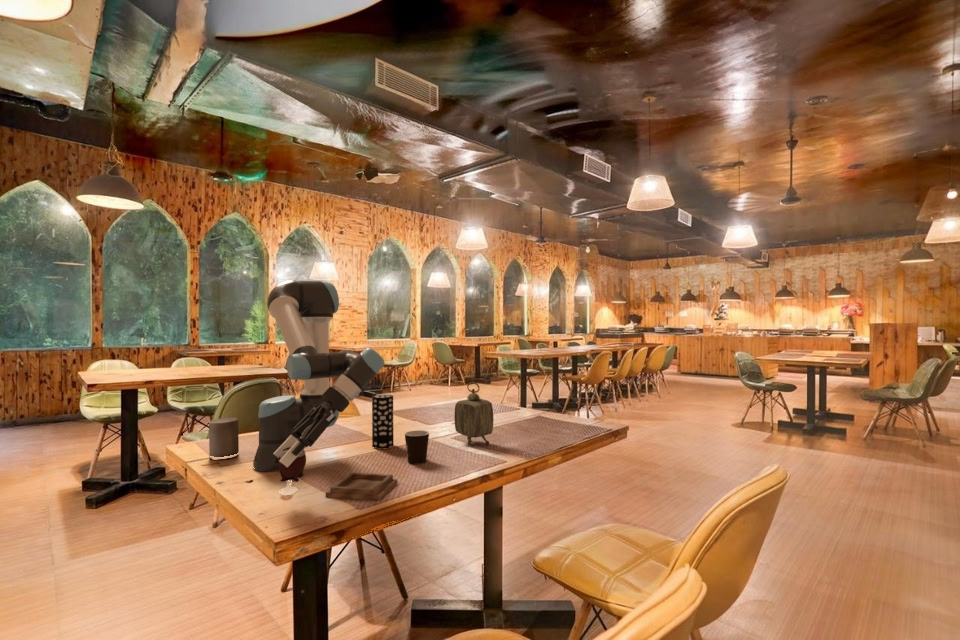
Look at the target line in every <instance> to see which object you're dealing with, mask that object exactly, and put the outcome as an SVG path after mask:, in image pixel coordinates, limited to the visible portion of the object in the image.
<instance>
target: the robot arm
mask: <svg viewBox="0 0 960 640" xmlns="http://www.w3.org/2000/svg"><path fill="white" fill-rule="evenodd" d="M266 305H267V309H268V312H269V315H270V316H271V317H272V318H273V319H275V320H276V323H277V326H278V328H279V330H280V334H281V336H282V337H283V341H284V343H285V345H286V349H287V350H288V353H289V355H288V357H287V359H286V360H287V361H286V370H287V376H288V377H289V379H291V380H294V381H296V380H297V381H298V380H300V381H301V380H302V381H303V383H304V384H303V387H304V388H303V389H302V390H301V391H300V393H299V398H296V396H295V395H292V394H289V395H288V394H287V395H280V396H275V397H274V396H273V397H270V398H267V399H265V400H263V401H262V402H260V404H259V406H258V414H257V417H258V446H257V449H256V451H255V455H254V459H253V463H252V466H253V467H254V468H255V469H257V470H256V471H258V470H262V471H261V472H277V471H276V470H278V471H280V470H279V465H278V458H279V454H280V452H281V451H282V450H283V449H285V448H288V447H291V448H290V449H289V451H288V452H287V453H286V454H285V455H284V456H283V457H282V458H281V459H280V460H279V461H280V462H281V463H282V464H284V465H285V466H286V467H287V468H288V466H289V465H290V464H291V463H292V462H293V461H294V460H295V459H296V458H297V456H298V455H299V454H300V453H301V452H302V451H303V450H304V451H305V449H306V448H308V447H310V448H311V447H312V446H313V445H314V443H316V441H317V440H318V439H319V438H320V437H321V436H322V434H323V433H324V432H325V430H326V429H327V428H330V427H333V426H334V425H335V424H336V423H337V420H338V418H339V414H340V413H343V412H344V411H345V410H346V409H347V408H348V407H349V405H350V402H352V401H353V402H354V399H355V398H358V397H359V396H360V392H362V390H364V389H365V387H366V386H367V385H368V384H369V383H370V382H371V381H372V379H373V378H375V376H377V374H379V372H380V371H381V369H382V368H383V367H384V366H385V360H384V358H383V357H382V355H380V354H379V352H377V351H375V350H374V349H372V348H371V347H366V348H365V349H364V350H362V351H361V352H360V353H358V352H355V351H353V350H350V349H349V350H346V349H345V350H340V351H339V352H337V351H336V352H330V322H331V321H332V320H333V319H334V314H337V312H338V311H339V307H340V299H339V294H338V290H337V289H336V286H335V285H334V284H333V283H331V282H329V281H328V282H326V281H320V280H319V281H317V280H316V281H315V280H311V281H310V280H297V279H291V280H290V279H289V280H285V281H282V282H280V283H278V284H276V285H275V286H274V288H272V290H271V291H270V292H269V294H268V296H267V302H266ZM330 378H336V379H335V380H334V381H333V382H332V384H331V385H332V386H330ZM310 425H311V426H310ZM308 426H310V427H309V429H308V430H307V431H306V433H305V434H304V435H303V437H302V438H301V436H302V433H303V431H304V430H305V429H306V428H307V427H308ZM253 467H252V468H253ZM254 468H253V469H254ZM255 469H254V470H255Z"/></svg>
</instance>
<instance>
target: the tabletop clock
mask: <svg viewBox="0 0 960 640" xmlns="http://www.w3.org/2000/svg"><path fill="white" fill-rule="evenodd" d="M471 384H472V385H476V386H477V388H478V389H477V390H476V389H475V388H472V389H470V388H469V386H470V385H471ZM466 389H467V390H468V392H470V393H469V394H468V395H467V398H466V399H462V400H458V401H457V402H456V403H455V406H454V429H455V432H456V433H458V434H460V435H462V436H466V437H467V444H468V446H471V445H473V444H472V438H474V439H475V438H481V439H483V440H484V441H485V442H484V443H485V445H486V446H488V445H490V441H489V440H487V439H486V436H488V435H491V434H492V433H493V431H494V418H495V417H494V409H493V404H492V402H491V401H489V400H487V399H485V398H484V399H483V398H480V395H479V394H478V393H479V391H480V385H479V384H478V383H477V382H475V381H471V382H469V383H468V384H467V388H466Z"/></svg>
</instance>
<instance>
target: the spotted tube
mask: <svg viewBox="0 0 960 640" xmlns="http://www.w3.org/2000/svg"><path fill="white" fill-rule="evenodd" d="M371 434H372V435H371V437H372V439H371V448H372V447H374V448H373V449H375V448H388V449H390V448H389V447H391V448H393V447H394V446H393V445H394V395H392V394H375V395H373V396H371ZM392 446H393V447H392Z"/></svg>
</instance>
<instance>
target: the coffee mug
mask: <svg viewBox="0 0 960 640" xmlns="http://www.w3.org/2000/svg"><path fill="white" fill-rule="evenodd" d="M429 437H430V432H429V431H427V430H421V429H420V430H419V429H418V430H410V431H406V432H405V433H404V438H405V439H404V441H405V448H406V456H407V463H408V464H411V465H421V464H425V463H427V458H428V457H427V456H428V447H429Z"/></svg>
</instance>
